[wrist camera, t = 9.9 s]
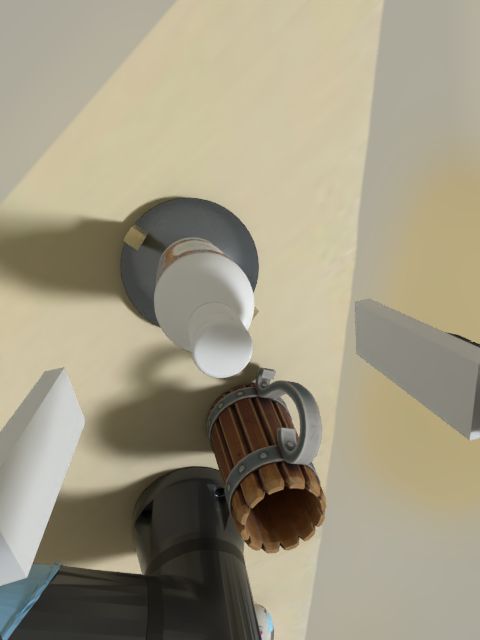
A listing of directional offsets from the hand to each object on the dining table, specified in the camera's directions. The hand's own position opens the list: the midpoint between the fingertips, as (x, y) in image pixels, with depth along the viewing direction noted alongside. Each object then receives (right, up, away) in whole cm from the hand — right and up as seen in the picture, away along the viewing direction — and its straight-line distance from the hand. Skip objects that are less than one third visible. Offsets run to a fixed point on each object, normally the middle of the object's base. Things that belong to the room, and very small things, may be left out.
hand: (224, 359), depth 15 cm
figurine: (+2, -46, +40) cm, 61 cm away
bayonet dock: (-4, +7, +20) cm, 22 cm away
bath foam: (-4, +7, +19) cm, 21 cm away
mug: (+2, -8, +27) cm, 29 cm away
